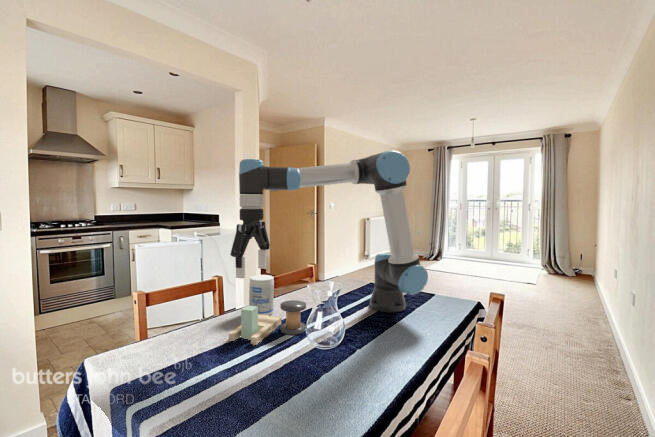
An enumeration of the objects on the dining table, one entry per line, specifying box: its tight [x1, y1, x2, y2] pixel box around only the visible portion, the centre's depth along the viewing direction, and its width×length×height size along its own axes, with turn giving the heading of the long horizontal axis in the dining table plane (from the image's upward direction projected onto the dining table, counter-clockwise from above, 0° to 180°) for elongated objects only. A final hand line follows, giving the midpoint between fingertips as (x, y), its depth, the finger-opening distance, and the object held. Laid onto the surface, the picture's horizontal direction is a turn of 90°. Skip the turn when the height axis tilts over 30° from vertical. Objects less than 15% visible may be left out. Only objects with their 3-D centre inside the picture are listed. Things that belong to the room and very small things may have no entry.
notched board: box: [228, 314, 282, 346], centre depth 109 cm, size 18×10×2 cm, turn 163°
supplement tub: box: [248, 274, 275, 316], centre depth 126 cm, size 10×10×15 cm
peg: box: [240, 304, 258, 341], centre depth 104 cm, size 4×4×10 cm
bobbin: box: [279, 299, 307, 336], centre depth 111 cm, size 9×9×9 cm
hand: (252, 273), depth 103 cm, fingers open, 13 cm apart
